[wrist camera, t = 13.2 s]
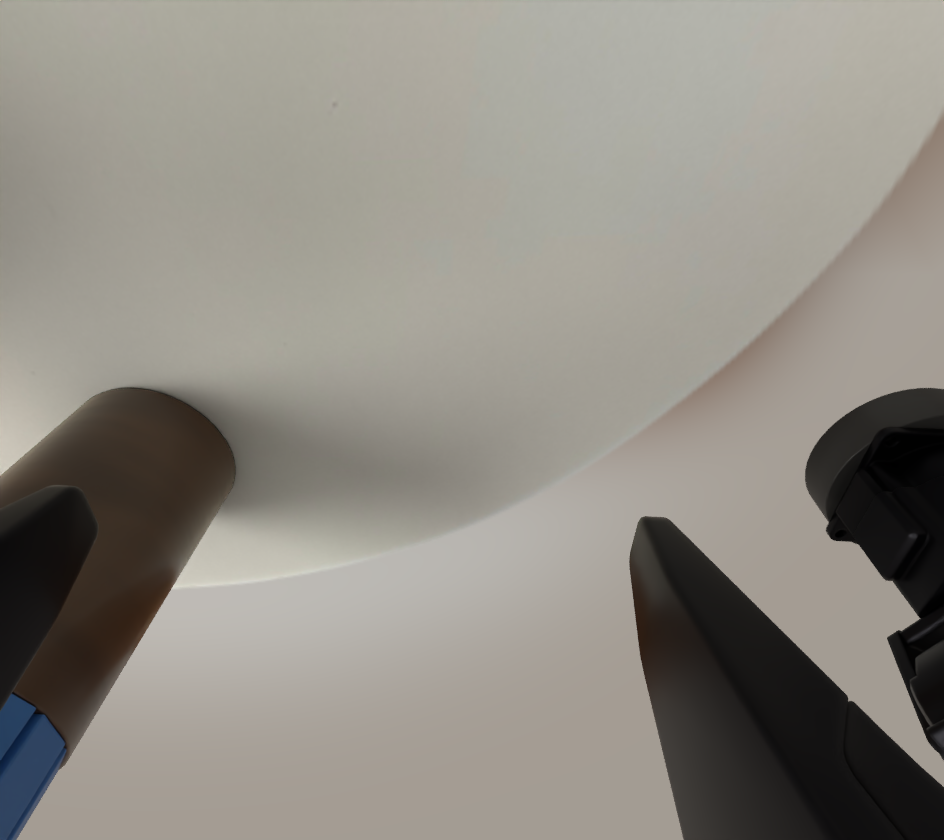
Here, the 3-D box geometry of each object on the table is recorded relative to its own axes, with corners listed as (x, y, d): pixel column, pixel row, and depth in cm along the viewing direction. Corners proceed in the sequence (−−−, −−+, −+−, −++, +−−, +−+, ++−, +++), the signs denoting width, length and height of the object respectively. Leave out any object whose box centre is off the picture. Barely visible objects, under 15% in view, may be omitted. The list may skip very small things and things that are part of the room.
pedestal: (217, 391, 22) (4, 652, 12) (249, 516, 25) (104, 790, 16) (49, 383, 22) (-288, 637, 13) (105, 508, 26) (-123, 777, 16)
